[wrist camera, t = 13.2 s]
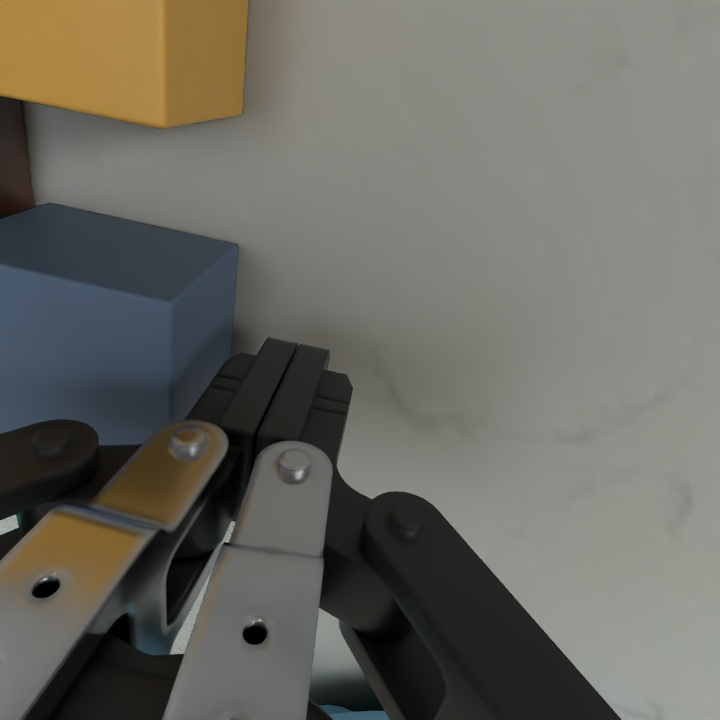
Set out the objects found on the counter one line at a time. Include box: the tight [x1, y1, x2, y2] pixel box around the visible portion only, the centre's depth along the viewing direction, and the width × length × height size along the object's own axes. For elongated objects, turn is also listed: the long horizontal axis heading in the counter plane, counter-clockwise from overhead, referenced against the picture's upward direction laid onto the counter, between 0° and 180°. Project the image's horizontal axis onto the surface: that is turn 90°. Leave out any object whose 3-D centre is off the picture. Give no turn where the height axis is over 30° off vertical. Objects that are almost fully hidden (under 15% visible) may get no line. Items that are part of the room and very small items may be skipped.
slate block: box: [0, 203, 238, 445], centre depth 12 cm, size 5×5×4 cm
